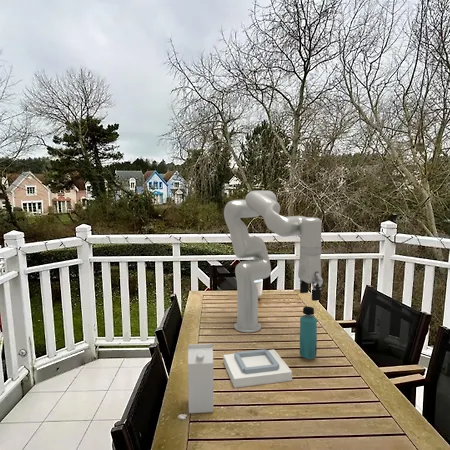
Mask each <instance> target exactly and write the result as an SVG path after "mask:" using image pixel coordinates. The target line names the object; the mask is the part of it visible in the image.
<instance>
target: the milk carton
mask: <svg viewBox="0 0 450 450" xmlns="http://www.w3.org/2000/svg"><path fill="white" fill-rule="evenodd" d="M213 349H214V347H213V343H202V344H201V343H200V344H199V343H198V344H197V343H196V344H195V343H194V344H188V346H187V353H188V354H187V369H188V371H187V372H188V373H187V375H188V376H187V384H188V388H187V389H188V396H187V397H188V414H201V413H214V353H213V352H214V351H213Z"/></svg>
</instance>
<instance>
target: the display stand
mask: <svg viewBox="0 0 450 450" xmlns="http://www.w3.org/2000/svg"><path fill="white" fill-rule="evenodd" d="M222 361H223V362H222V363H223V365H224V367H225V369H226V371H227V375H228V376H229V379H230V381H231V383H232V385H233V388H234V389H236V388H243V387H250V386H251V387H252V386H258V385H259V386H260V385H265V384H266V385H268V384H274V383H283V382H290V381H293V371H292V370H291V368H290V367H289V366H288V365H287V364H286V362H285V361H284V360H283V359H282V357H281V356H280V355H279V353H278V352H277V351H276V350H275V349H265V348H264V349H254V350H245V351H236V352H235V353H229V354H223V359H222Z"/></svg>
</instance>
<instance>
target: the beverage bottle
mask: <svg viewBox="0 0 450 450" xmlns="http://www.w3.org/2000/svg"><path fill="white" fill-rule="evenodd" d="M302 314H304V315H302V316H300V318H299V355H300V357H302V358H304V359H316V357H317V352H318V345H317V344H318V324H317V323H318V319H317V318H316V317H315V316H314V314H315V309H314V307H312V306H303V309H302Z"/></svg>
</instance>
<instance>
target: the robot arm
mask: <svg viewBox="0 0 450 450" xmlns="http://www.w3.org/2000/svg"><path fill="white" fill-rule="evenodd" d="M280 211H281V206H280V203H279V202H278V199H277V196H276V194H275V193H274V192H273V191H272V190H252V191H250V192H248V193H247V194H246V196H245V199H234V200H230V201H228V202H227V203H226V204H225V206H224V209H223V217H224V221H225V224H226V226H227V229H228V231H229V235H230V240H231V243H232V244H231V245H232V249H233V252H234V255H235V257H236V258H238V259H248V258H253V259H249V260H243V261H241V262H239V263H238V264H236V265H235V269H234V273H235V274H234V275H235V279H236V287H237V288H236V291H237V296H236V297H237V298H236V299H237V301H236V302H237V307H236V310H237V311H236V312H237V313H236V316H237V319H236V322H235V323H234V324H233V328H234V329H235V330H236V331H237V332H241V333H256V332H259V331H260V330H261V329H262V324H261V323H260V322H259V320H258V319H259V317H258V316H259V314H258V313H259V311H258V310H259V289H258V287H257V285H256V283H255V281H259V280H264V279H267V278H269V277H270V275H271V274H272V273H271V272H272V266H271V261H270V257H269V253H268V249H267V246H266V243H265V241H264V239H262V237H259V236H250V234H249V230H248V227H247V225H246V224H245V223H244V221H242V220H241V218H242V219H244V218H246V219H247V218H256V217H262V218H263V220H264V223H265V226H266V227H267V228H268V229H269V230H270V231H271V232H273V233H274V234H276V235H277V236H280V237H283V238H284V237H286V238H287V237H288V238H289V237H295V236H296V237H297V236H299V259H298V271H297V272H298V273H297V274H298V275H297V276H298V278H299V293H300V294H308V293H309V284H311V287H312V289H311V301H315V302H316V301H321V292H322V291H321V290H322V287H323V283H324V279H323V278H322V264H321V263H322V261H321V256H322V219H321V218H319V217H307V216H305V215H304V216H303V215H293V216H291V215H290V216H283V215H281V214H280Z"/></svg>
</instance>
